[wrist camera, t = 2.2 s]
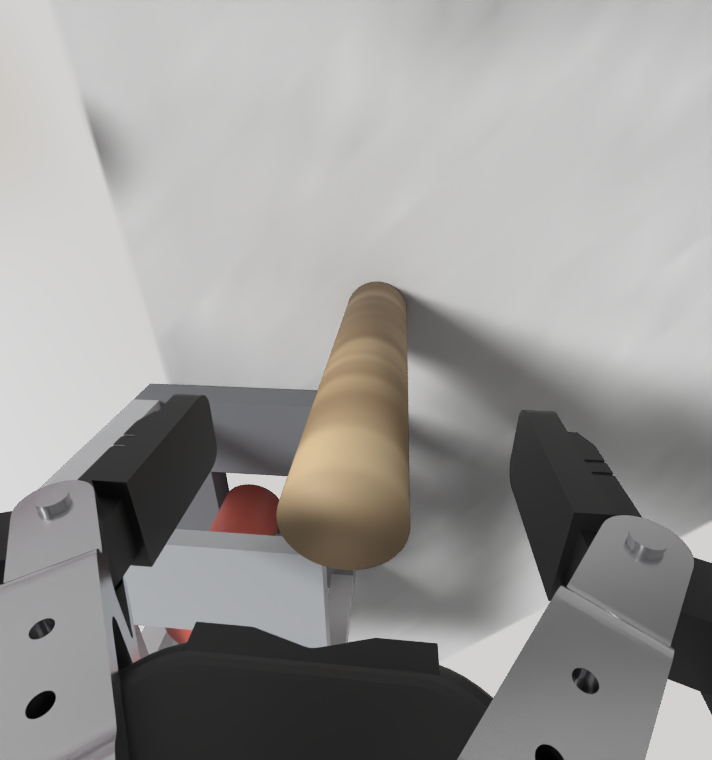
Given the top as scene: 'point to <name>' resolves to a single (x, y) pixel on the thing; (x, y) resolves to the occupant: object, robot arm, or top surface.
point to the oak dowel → (355, 443)
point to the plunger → (241, 523)
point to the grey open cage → (230, 550)
